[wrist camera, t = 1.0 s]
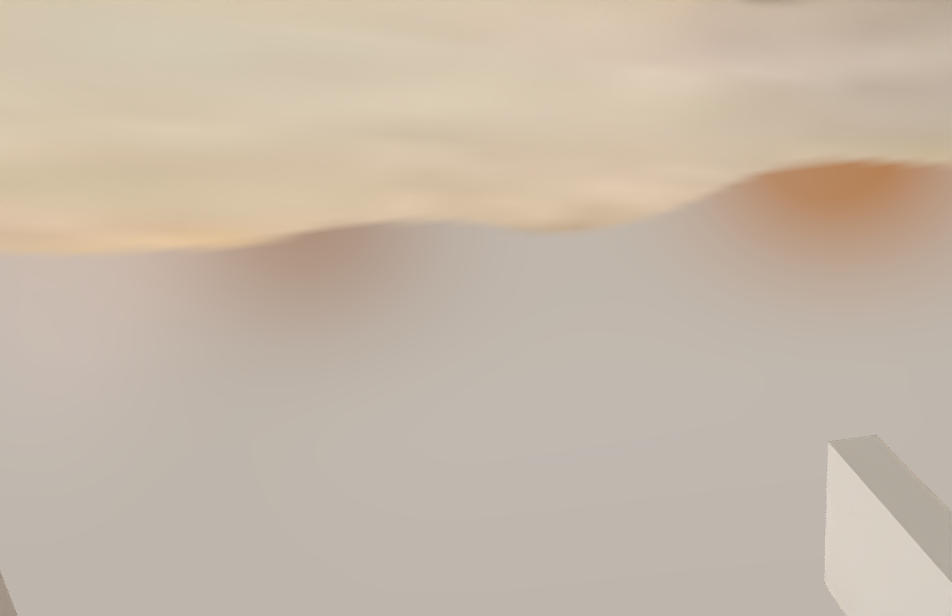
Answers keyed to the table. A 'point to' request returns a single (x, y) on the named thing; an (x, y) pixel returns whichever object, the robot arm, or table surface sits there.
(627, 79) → the table surface
